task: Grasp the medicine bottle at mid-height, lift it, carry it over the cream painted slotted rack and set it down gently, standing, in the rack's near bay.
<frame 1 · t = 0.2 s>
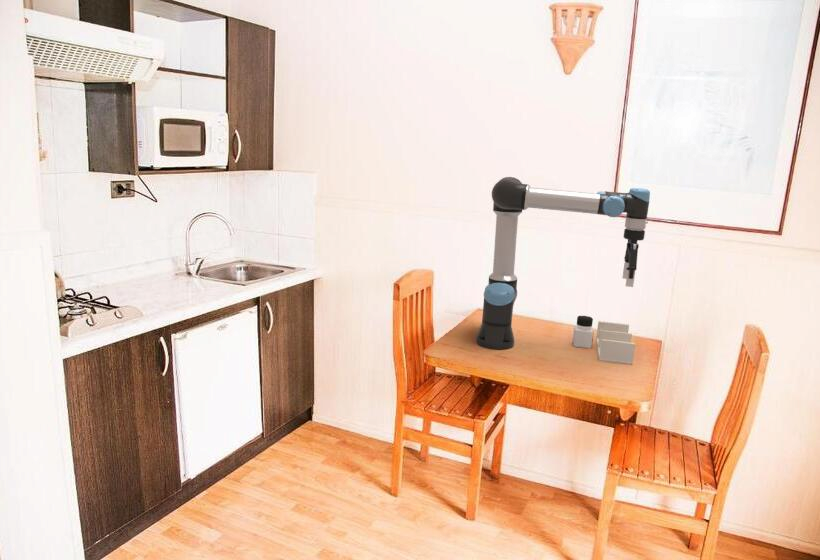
hand: (627, 282, 244), 27 cm above the table, fingers open, 13 cm apart
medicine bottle: (581, 345, 252), on the table
rack: (613, 351, 246), on the table
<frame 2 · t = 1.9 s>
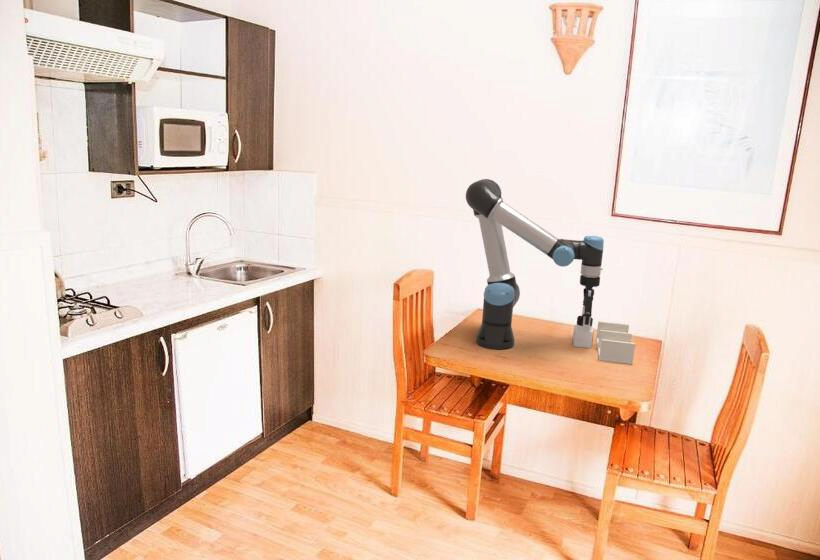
hand: (585, 326, 250), 8 cm above the table, fingers open, 13 cm apart
nothing on the table moved.
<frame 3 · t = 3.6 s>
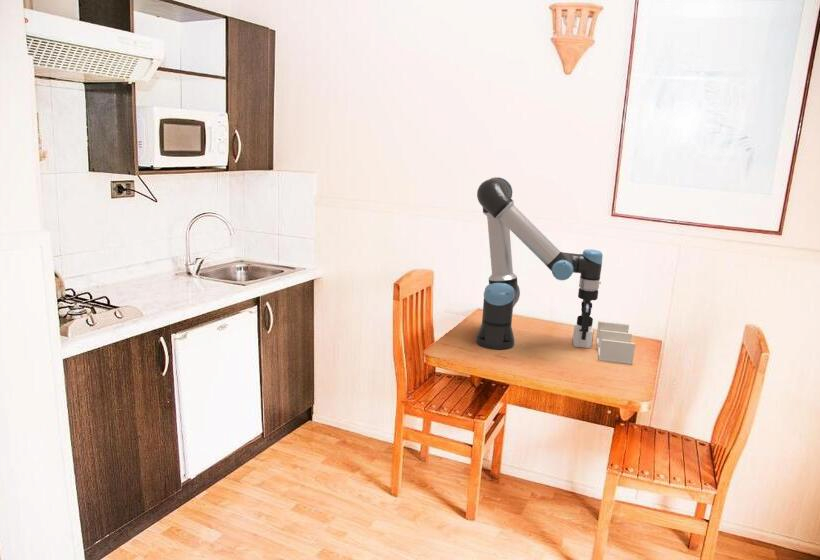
hand: (582, 343, 252), 1 cm above the table, fingers closed on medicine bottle, 7 cm apart
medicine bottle: (581, 345, 252), on the table, touching gripper
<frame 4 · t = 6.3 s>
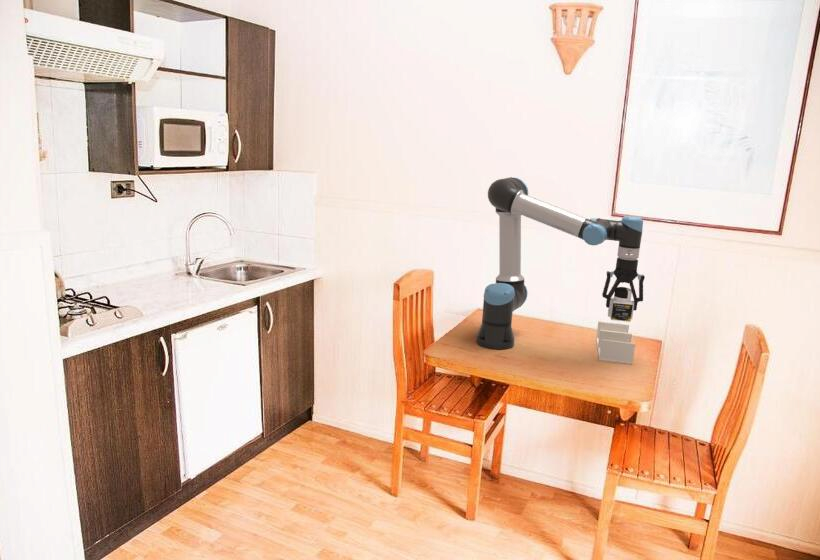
hand: (619, 316, 237), 16 cm above the table, fingers closed on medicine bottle, 7 cm apart
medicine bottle: (619, 318, 237), point 15 cm above the table, touching gripper
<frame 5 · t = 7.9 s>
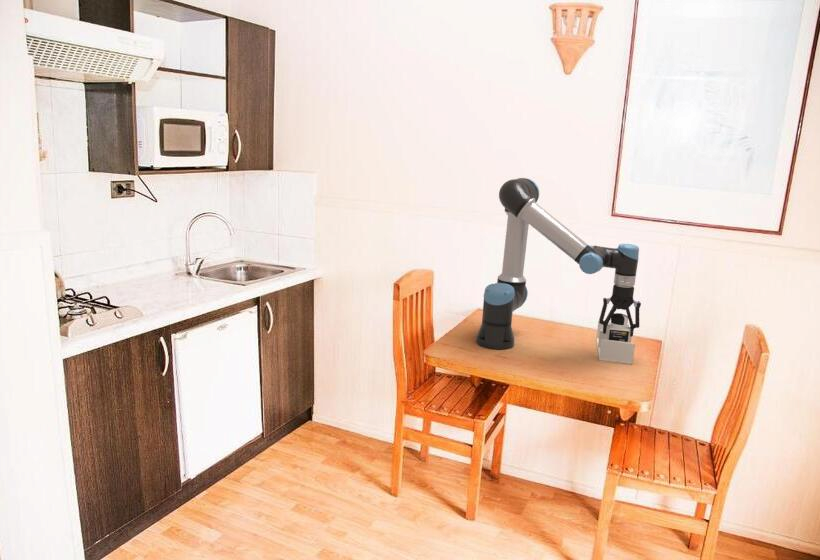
hand: (616, 342, 239), 6 cm above the table, fingers closed on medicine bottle, 7 cm apart
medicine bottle: (616, 344, 239), point 5 cm above the table, touching gripper
when the fingers open (4 cm above the table, at t = 9.2 s): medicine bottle drops 2 cm, resting on rack.
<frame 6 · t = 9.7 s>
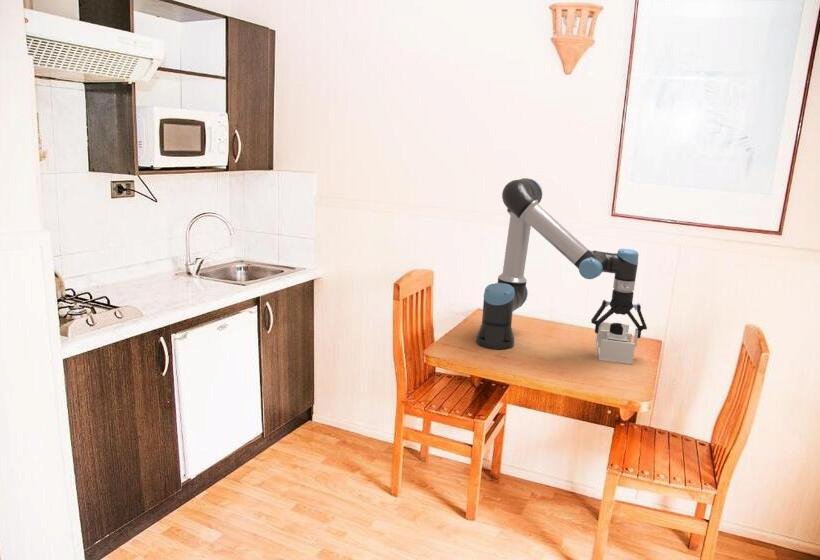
hand: (616, 343, 239), 5 cm above the table, fingers open, 13 cm apart
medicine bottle: (614, 354, 240), point 1 cm above the table, touching rack
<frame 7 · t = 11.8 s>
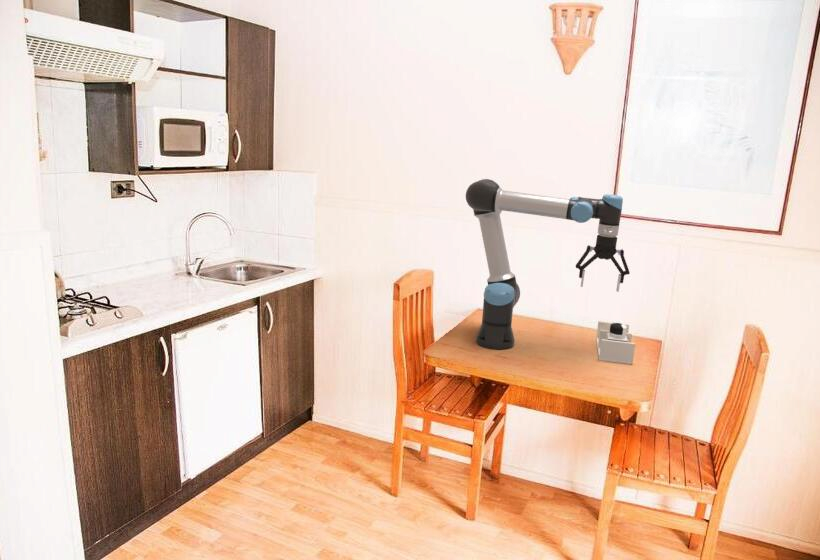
hand: (599, 288, 245), 24 cm above the table, fingers open, 13 cm apart
nothing on the table moved.
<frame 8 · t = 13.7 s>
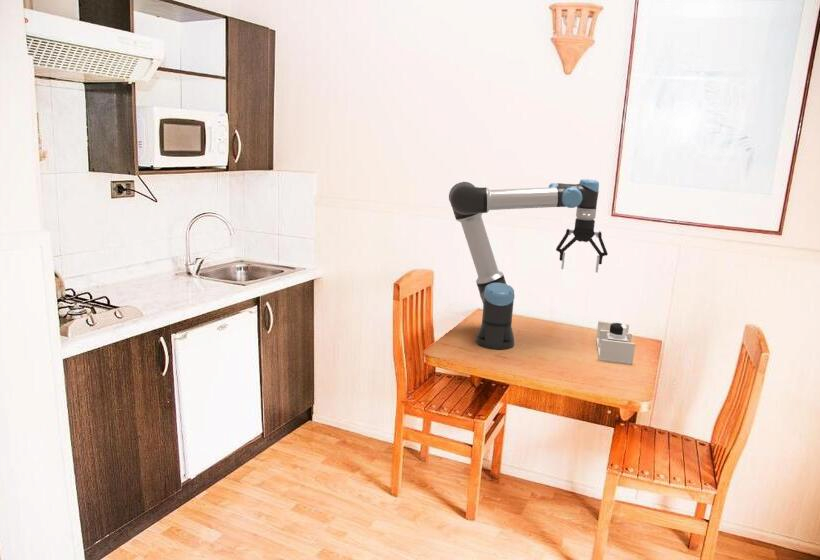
hand: (579, 270, 254), 29 cm above the table, fingers open, 13 cm apart
nothing on the table moved.
at the end: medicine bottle inside the target area on the rack (0.1 cm from its centre), point 0.8 cm above the rack's base; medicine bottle tilted 0°; the gripper is holding nothing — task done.
